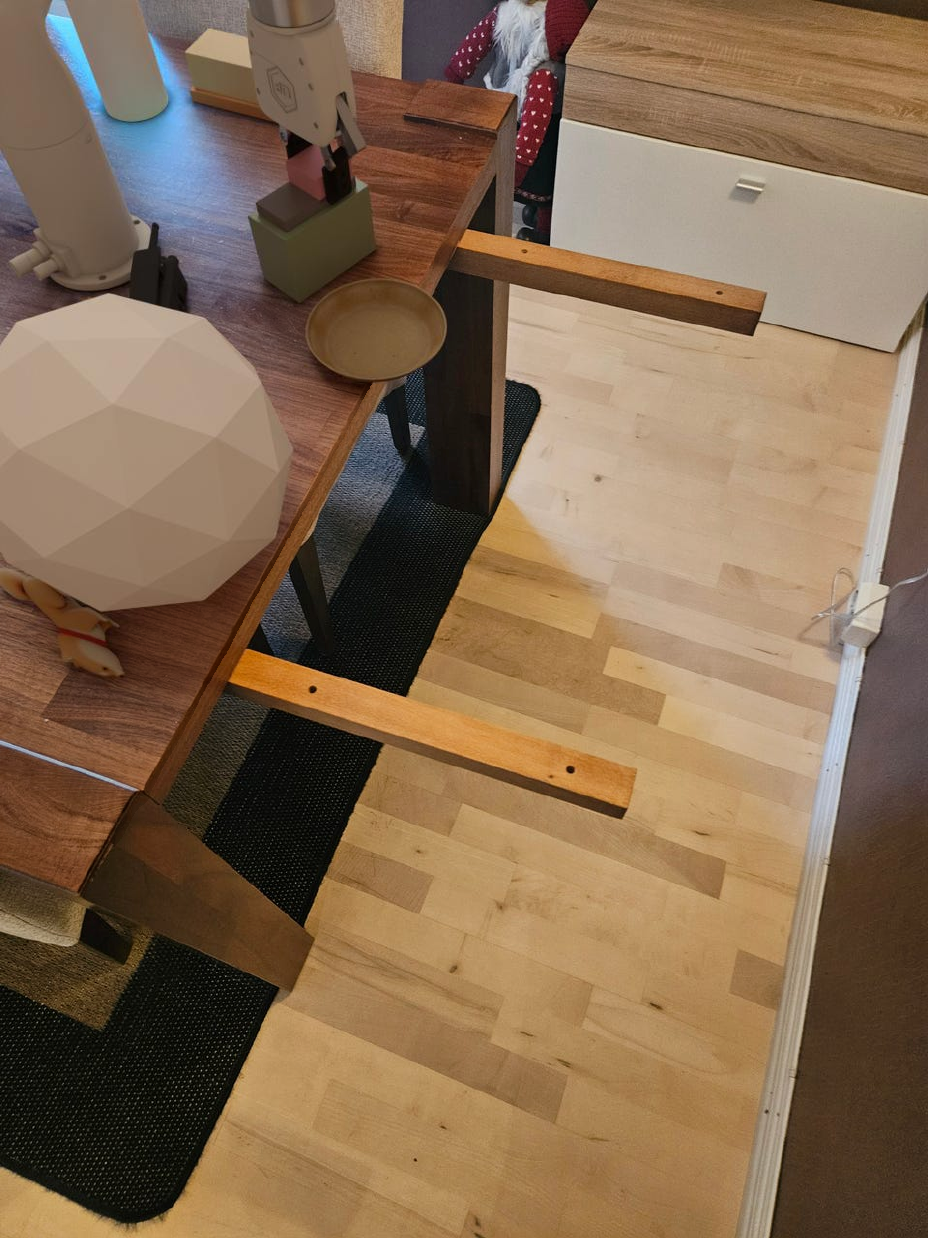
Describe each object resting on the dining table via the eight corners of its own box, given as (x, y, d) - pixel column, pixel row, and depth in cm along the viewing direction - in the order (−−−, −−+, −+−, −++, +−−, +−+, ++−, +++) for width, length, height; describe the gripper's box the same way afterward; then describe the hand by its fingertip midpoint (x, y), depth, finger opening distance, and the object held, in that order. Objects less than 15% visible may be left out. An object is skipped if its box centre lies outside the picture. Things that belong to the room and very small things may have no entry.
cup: (175, 86, 113) (133, -54, 99) (159, 123, 109) (113, -18, 95) (116, 83, 113) (65, -57, 99) (97, 119, 110) (42, -21, 96)
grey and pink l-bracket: (286, 232, 87) (280, 202, 84) (257, 212, 88) (250, 182, 85) (356, 186, 90) (352, 156, 87) (327, 168, 92) (322, 137, 89)
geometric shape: (-103, 339, 67) (-139, 595, 55) (136, 163, 60) (156, 410, 48) (124, 486, 87) (136, 700, 74) (324, 366, 80) (373, 579, 68)
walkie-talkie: (189, 344, 87) (202, 213, 96) (128, 319, 83) (147, 186, 92) (169, 380, 91) (183, 251, 100) (110, 358, 88) (129, 227, 97)
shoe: (317, 96, 112) (309, 48, 106) (292, 126, 109) (283, 78, 103) (219, 73, 114) (207, 24, 109) (192, 101, 111) (178, 52, 106)
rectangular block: (299, 303, 93) (285, 240, 86) (263, 278, 95) (247, 214, 88) (376, 249, 97) (369, 185, 90) (340, 226, 99) (330, 161, 92)
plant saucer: (472, 327, 91) (472, 307, 89) (400, 416, 85) (398, 398, 83) (359, 280, 95) (356, 261, 93) (282, 364, 89) (277, 345, 87)
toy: (157, 648, 72) (123, 698, 72) (23, 559, 78) (-10, 604, 77) (135, 638, 69) (100, 690, 68) (-3, 546, 74) (-38, 593, 74)
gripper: (195, -24, 75) (243, 169, 91) (325, 47, 70) (352, 239, 86) (259, -56, 78) (295, 137, 94) (389, 11, 72) (403, 204, 88)
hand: (322, 184), depth 90 cm, fingers closed on grey and pink l-bracket, 4 cm apart
